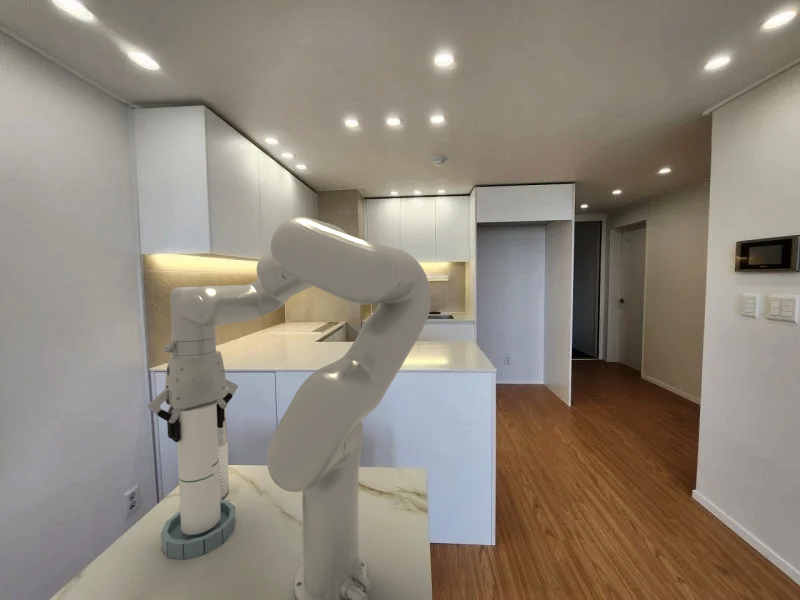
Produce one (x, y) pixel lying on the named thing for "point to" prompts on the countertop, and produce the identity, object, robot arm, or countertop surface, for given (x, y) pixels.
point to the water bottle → (223, 458)
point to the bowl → (197, 535)
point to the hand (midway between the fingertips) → (197, 432)
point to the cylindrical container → (199, 468)
